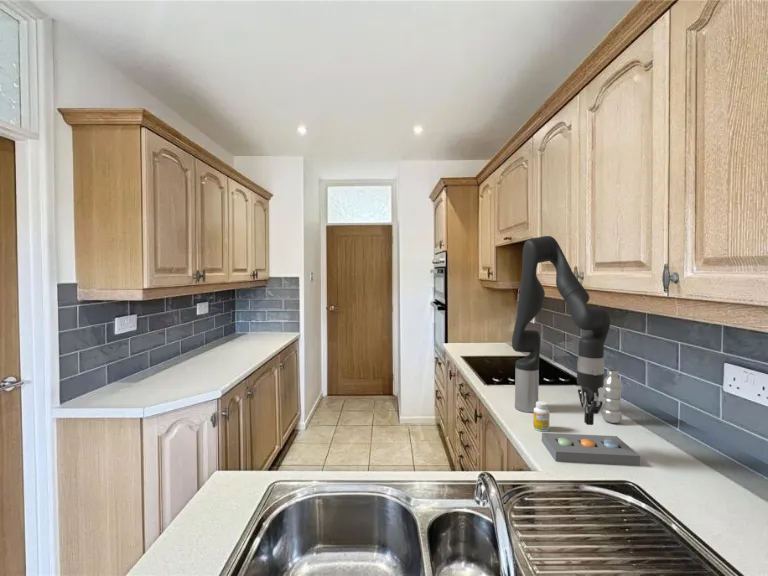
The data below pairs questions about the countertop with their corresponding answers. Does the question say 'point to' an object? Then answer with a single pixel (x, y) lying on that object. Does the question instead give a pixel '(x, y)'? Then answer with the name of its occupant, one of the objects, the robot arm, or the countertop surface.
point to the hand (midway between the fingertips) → (588, 423)
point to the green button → (564, 442)
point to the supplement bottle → (541, 416)
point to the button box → (590, 450)
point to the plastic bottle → (612, 397)
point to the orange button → (587, 443)
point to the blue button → (610, 444)
